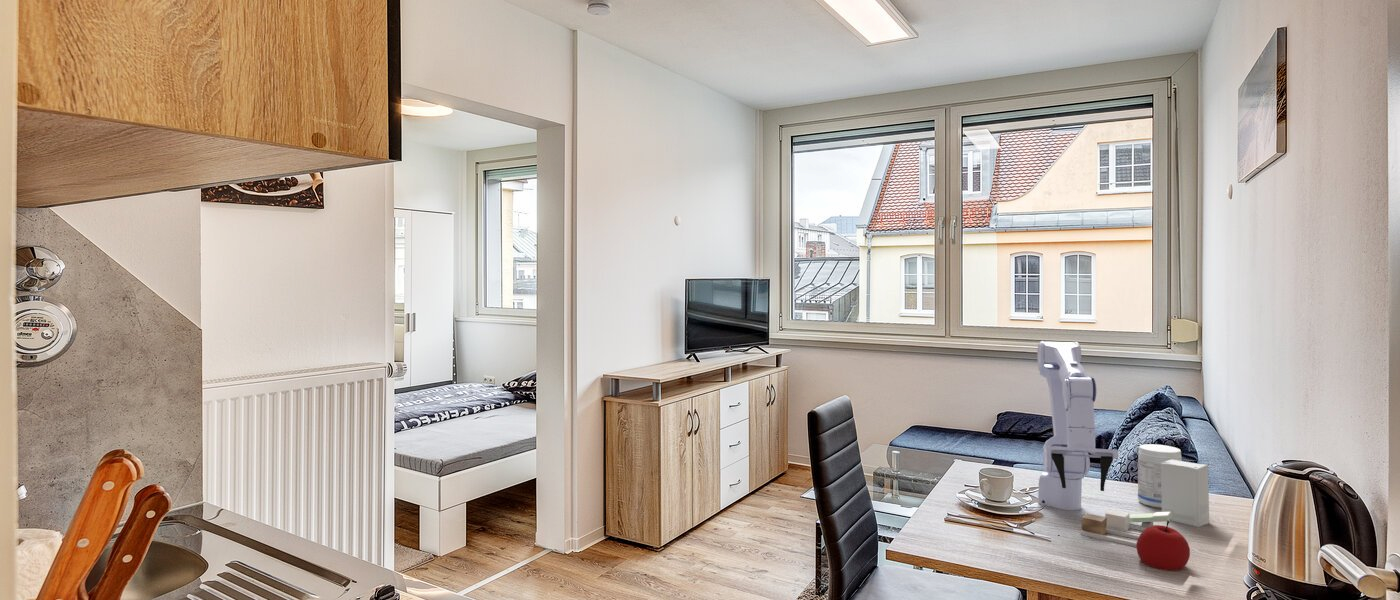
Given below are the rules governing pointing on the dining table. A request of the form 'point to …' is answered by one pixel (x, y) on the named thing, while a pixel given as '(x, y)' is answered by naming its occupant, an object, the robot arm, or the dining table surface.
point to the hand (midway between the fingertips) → (1082, 489)
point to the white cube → (1117, 519)
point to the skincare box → (1185, 492)
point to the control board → (1120, 533)
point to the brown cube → (1094, 524)
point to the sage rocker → (1151, 517)
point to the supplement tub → (1153, 471)
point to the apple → (1163, 548)
